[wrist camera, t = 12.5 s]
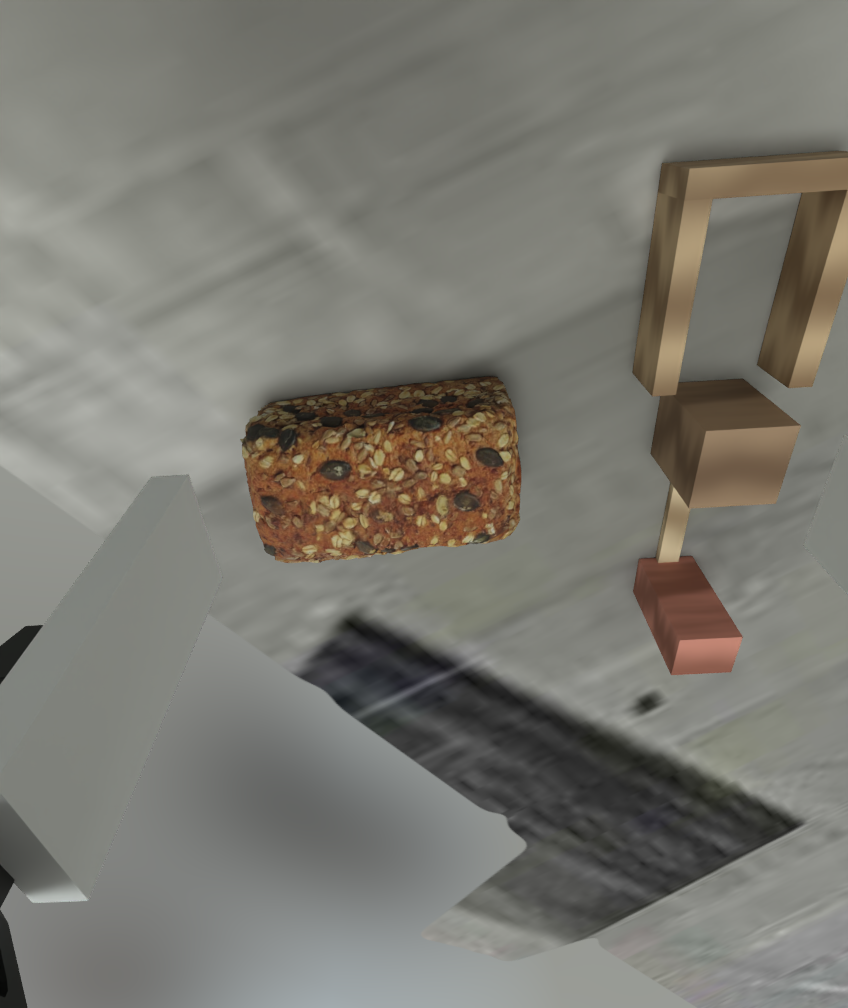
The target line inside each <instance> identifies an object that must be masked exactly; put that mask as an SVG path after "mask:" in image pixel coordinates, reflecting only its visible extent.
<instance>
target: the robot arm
mask: <svg viewBox="0 0 848 1008" xmlns="http://www.w3.org/2000/svg"><path fill="white" fill-rule="evenodd" d="M803 546H804V547H805V548H806V549H807V550H808V551H809V553H810V554H811V555H812V556H813V557H814V558H815V559H816V560H817V561H818V563H819V564H820V565H821V566H822V567H823V568H824V569H825V570H826V571H827V573H828V574H829V575H830V576H831V577H832V578H833V579H834V580H835V581H836V583H837V584H838V585H839V586H840V587H841V588H842V589H843V590H844V591H845V593H846V594H847V595H848V435H844V437H843V440H842V442H841V445H840V448H839V450H838V453H837V456H836V459H835V461H834V464H833V467H832V469H831V472H830V475H829V477H828V480H827V483H826V486H825V488H824V491H823V494H822V496H821V499H820V502H819V504H818V507H817V510H816V512H815V515H814V518H813V521H812V523H811V526H810V529H809V531H808V534H807V537H806V539H805V542H804V545H803ZM222 578H223V577H222V574H221V571H220V568H219V565H218V562H217V559H216V556H215V553H214V550H213V547H212V544H211V541H210V538H209V535H208V532H207V529H206V526H205V523H204V520H203V517H202V514H201V511H200V507H199V504H198V501H197V498H196V495H195V492H194V489H193V486H192V483H191V480H190V477H189V475H173V476H156V477H151V478H150V480H149V481H148V482H147V484H146V485H145V486H144V488H143V489H142V490H141V492H140V493H139V495H138V496H137V497H136V499H135V500H134V501H133V503H132V504H131V506H130V507H129V508H128V510H127V511H126V512H125V514H124V515H123V517H122V518H121V519H120V521H119V522H118V523H117V525H116V526H115V528H114V529H113V530H112V532H111V533H110V534H109V536H108V537H107V539H106V540H105V541H104V543H103V544H102V546H101V547H100V548H99V550H98V551H97V552H96V554H95V555H94V556H93V558H92V559H91V561H90V562H89V563H88V565H87V566H86V567H85V569H84V570H83V572H82V573H81V574H80V576H79V577H78V578H77V580H76V581H75V583H74V584H73V585H72V587H71V588H70V589H69V591H68V592H67V594H66V595H65V596H64V598H63V599H62V600H61V602H60V603H59V605H58V606H57V607H56V609H55V610H54V611H53V613H52V614H51V616H50V617H49V618H48V620H47V621H46V623H45V624H44V625H38V626H25V627H24V628H23V629H21V630H20V631H19V632H18V633H16V634H15V635H14V636H12V637H11V638H10V639H9V640H7V641H6V642H5V643H4V644H3V645H1V646H0V907H1V905H2V903H3V902H4V900H5V898H6V896H7V894H8V892H9V890H10V888H11V887H12V884H13V883H15V884H16V885H17V886H18V888H19V889H20V890H21V891H22V892H23V893H24V894H25V895H26V896H27V897H28V898H29V899H30V900H31V901H32V902H33V903H43V902H66V901H88V900H89V898H90V896H91V893H92V891H93V888H94V886H95V884H96V881H97V879H98V876H99V874H100V872H101V869H102V867H103V864H104V862H105V860H106V857H107V855H108V852H109V850H110V847H111V845H112V843H113V840H114V838H115V835H116V833H117V831H118V828H119V826H120V823H121V821H122V819H123V816H124V814H125V812H126V809H127V806H128V804H129V802H130V799H131V797H132V795H133V792H134V790H135V788H136V785H137V782H138V780H139V778H140V776H141V773H142V771H143V768H144V766H145V763H146V761H147V759H148V756H149V754H150V751H151V749H152V747H153V744H154V742H155V739H156V737H157V735H158V732H159V730H160V727H161V725H162V722H163V720H164V718H165V715H166V713H167V711H168V708H169V706H170V703H171V701H172V698H173V696H174V694H175V691H176V689H177V687H178V684H179V682H180V679H181V677H182V675H183V672H184V670H185V667H186V665H187V662H188V660H189V658H190V655H191V653H192V650H193V648H194V645H195V643H196V641H197V638H198V636H199V634H200V631H201V629H202V626H203V624H204V621H205V619H206V617H207V614H208V612H209V610H210V607H211V605H212V602H213V600H214V598H215V595H216V593H217V590H218V588H219V586H220V583H221V581H222ZM0 1008H27V1003H26V999H25V995H24V990H23V986H22V982H21V977H20V973H19V968H18V964H17V960H16V955H15V951H14V947H13V942H12V938H11V934H10V929H9V925H8V922H7V920H6V919H5V917H4V915H3V914H2V912H1V911H0Z"/></svg>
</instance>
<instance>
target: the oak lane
mask: <svg viewBox="0 0 848 1008" xmlns="http://www.w3.org/2000/svg"><path fill="white" fill-rule="evenodd" d="M790 193H802V195H801V199H800V203H799V207H798V211H797V214H796V218H795V222H794V226H793V230H792V234H791V237H790V241H789V245H788V249H787V253H786V257H785V260H784V264H783V268H782V272H781V276H780V279H779V283H778V287H777V291H776V295H775V299H774V302H773V306H772V310H771V314H770V318H769V322H768V325H767V329H766V333H765V337H764V341H763V345H762V348H761V352H760V356H759V360H758V364H757V365H758V366H759V367H760V368H762V369H763V370H764V371H766V372H767V373H768V374H770V375H771V376H773V377H774V378H775V379H777V380H778V381H779V382H781V383H782V384H783V385H785V386H786V387H788V388H798V387H812V386H813V383H814V380H815V376H816V373H817V370H818V367H819V364H820V361H821V358H822V355H823V352H824V348H825V345H826V342H827V339H828V336H829V333H830V330H831V327H832V324H833V320H834V317H835V314H836V311H837V308H838V305H839V302H840V299H841V296H842V292H843V289H844V286H845V283H846V280H847V277H848V152H847V151H830V152H815V153H801V154H787V155H773V156H758V157H744V158H730V159H716V160H701V161H687V162H673V163H662V168H661V175H660V182H659V189H658V196H657V203H656V210H655V217H654V224H653V231H652V238H651V246H650V253H649V260H648V267H647V274H646V281H645V288H644V295H643V302H642V309H641V316H640V323H639V331H638V338H637V345H636V352H635V359H634V366H633V374H634V375H635V376H636V378H637V379H638V380H639V381H640V382H641V384H642V385H643V386H644V387H645V388H646V390H647V391H648V392H649V393H650V394H651V395H652V396H667V395H676V391H677V386H678V381H679V375H680V370H681V365H682V360H683V354H684V349H685V344H686V338H687V333H688V328H689V322H690V317H691V312H692V306H693V301H694V296H695V290H696V285H697V280H698V274H699V269H700V264H701V258H702V253H703V248H704V242H705V237H706V232H707V226H708V221H709V216H710V210H711V205H712V200H713V199H717V198H732V197H746V196H761V195H775V194H790Z"/></svg>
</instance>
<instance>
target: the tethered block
mask: <svg viewBox="0 0 848 1008" xmlns="http://www.w3.org/2000/svg"><path fill="white" fill-rule="evenodd" d="M800 427H801V425H800V424H798V423H797V422H796V421H795V420H793V419H792V418H791V417H790V416H789V415H787V414H786V413H785V412H784V411H782V410H781V409H780V408H779V407H777V406H776V405H775V404H774V403H772V402H771V401H770V400H769V399H767V398H766V397H765V396H764V395H763V394H761V393H760V392H759V391H758V390H756V389H755V388H754V387H753V386H751V385H750V384H749V383H748V382H746V381H745V380H744V379H730V380H714V381H698V382H682V383H678V386H677V391H676V395H667V396H660V402H659V408H658V414H657V420H656V425H655V431H654V437H653V443H652V449H651V455H652V456H653V458H654V459H655V460H656V462H657V463H658V465H659V466H660V468H661V469H662V471H663V472H664V473H665V475H666V476H667V478H668V479H669V481H670V482H671V483H670V488H669V493H668V498H667V503H666V508H665V513H664V518H663V523H662V528H661V533H660V538H659V543H658V548H657V553H656V558H646V559H639V562H638V568H637V573H636V579H635V584H634V590H633V592H634V595H635V597H636V599H637V601H638V603H639V606H640V608H641V610H642V612H643V614H644V617H645V619H646V621H647V623H648V625H649V627H650V630H651V632H652V634H653V636H654V638H655V641H656V643H657V645H658V647H659V649H660V652H661V654H662V656H663V658H664V660H665V663H666V665H667V667H668V669H669V671H670V674H671V675H682V674H702V673H722V672H731V671H732V668H733V665H734V662H735V659H736V656H737V653H738V650H739V647H740V644H741V641H742V638H743V637H742V635H741V633H740V632H739V630H738V629H737V627H736V625H735V624H734V622H733V621H732V619H731V617H730V616H729V614H728V613H727V611H726V609H725V608H724V606H723V605H722V603H721V601H720V600H719V598H718V597H717V595H716V593H715V592H714V590H713V589H712V587H711V585H710V584H709V582H708V581H707V579H706V577H705V576H704V574H703V573H702V571H701V570H700V568H699V566H698V565H697V563H696V562H695V560H694V558H693V557H692V556H682V557H680V552H681V548H682V543H683V539H684V535H685V530H686V526H687V521H688V517H689V513H690V508H706V507H723V506H741V505H759V504H776V501H777V498H778V495H779V492H780V489H781V486H782V483H783V479H784V476H785V473H786V470H787V467H788V464H789V461H790V458H791V455H792V452H793V448H794V445H795V442H796V439H797V436H798V433H799V430H800Z"/></svg>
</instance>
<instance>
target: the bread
mask: <svg viewBox="0 0 848 1008" xmlns="http://www.w3.org/2000/svg"><path fill="white" fill-rule="evenodd" d="M516 428H517V426H516V417H515V411H514V408H513V406H512V402H511V399H510V398H509V397H508V394H507V391H506V388H505V386H504V385H503V382H501V381H499V379H498V378H497V377H477V378H472V379H463V380H451V381H439V382H437V383H435V384H434V383H414V384H410V385H405V386H404V385H400V386H397V387H384V388H374V389H369V390H355V391H352V392H350V393H341V392H338V393H332V394H324V395H315V396H309V397H302V398H297V399H292V400H287V401H280V402H274V403H270V404H268V405H266V406H265V407H263V408H261V410H260V411H258V415H257V416H254V417H252V418H250V422H249V423H248V424H247V425H246V428H245V430H246V437H245V438H244V439H240V440H241V441H242V443H243V444H242V455H243V458H244V460H245V469H246V471H247V473H246V475H247V478H248V481H247V483H248V486H249V492H250V496H251V500H252V505H253V516H254V520H255V521H256V527H257V530H258V532H259V535H260V538H261V540H262V541H263V544H264V547H265V549H264V550H265V551H266V553H268V554H270V555H272V556H275V560H277V561H281V562H285V563H298V562H314V563H319V562H322V561H325V560H330V559H335V560H339V559H345V560H349V559H354V558H364V557H371V556H373V555H374V554H381V555H385V554H387V553H391V554H399V553H403V552H405V551H408V550H412V549H418V548H419V547H433V546H447V547H458V546H462V545H467V544H470V543H473V544H478V543H481V544H486V543H489V542H493V541H497V540H500V539H505V538H506V537H507V536H510V535H511V534H512V532H513V531H514V530H515V528H516V526H517V525H518V523H519V521H520V516H519V510H520V494H519V493H520V488H521V466H520V459H519V453H518V447H517V444H518V439H519V438H518V435H517V430H516Z"/></svg>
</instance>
